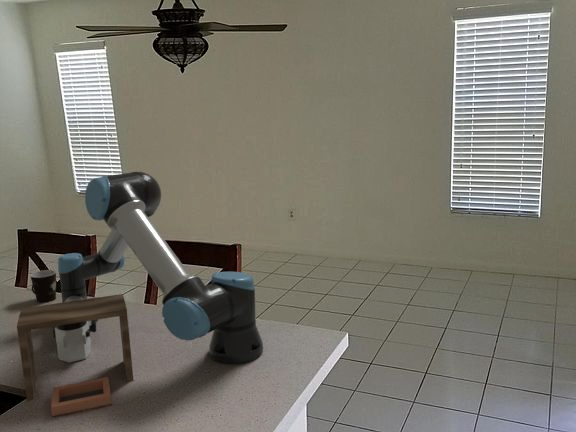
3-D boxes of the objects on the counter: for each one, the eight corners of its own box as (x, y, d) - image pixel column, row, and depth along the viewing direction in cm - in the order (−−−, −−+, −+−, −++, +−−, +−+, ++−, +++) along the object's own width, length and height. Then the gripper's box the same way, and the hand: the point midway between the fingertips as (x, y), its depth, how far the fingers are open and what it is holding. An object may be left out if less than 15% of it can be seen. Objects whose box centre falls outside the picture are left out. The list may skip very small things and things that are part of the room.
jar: (60, 365, 150) (55, 324, 147) (56, 353, 157) (52, 314, 154) (94, 357, 154) (89, 317, 151) (89, 346, 161) (85, 308, 158)
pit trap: (53, 396, 134) (52, 387, 133) (109, 385, 138) (108, 376, 138) (52, 417, 125) (51, 407, 125) (111, 404, 130) (110, 395, 129)
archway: (30, 378, 143) (21, 308, 139) (129, 360, 152) (122, 293, 148) (27, 401, 132) (16, 326, 128) (133, 380, 141) (126, 309, 137)
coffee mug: (49, 294, 206) (46, 268, 204) (64, 297, 202) (61, 271, 200) (21, 304, 197) (17, 277, 194) (35, 308, 192) (32, 281, 190)
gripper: (104, 318, 174) (109, 348, 153) (46, 327, 169) (42, 360, 147) (102, 296, 173) (106, 323, 152) (43, 304, 167) (38, 334, 146)
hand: (74, 341), depth 149 cm, fingers closed on jar, 4 cm apart
